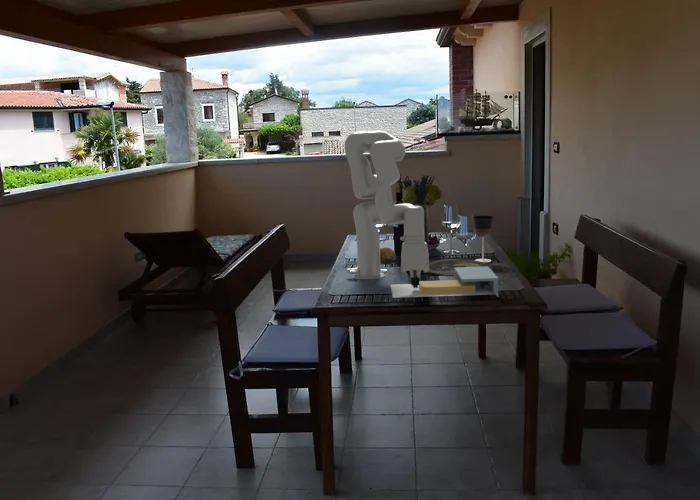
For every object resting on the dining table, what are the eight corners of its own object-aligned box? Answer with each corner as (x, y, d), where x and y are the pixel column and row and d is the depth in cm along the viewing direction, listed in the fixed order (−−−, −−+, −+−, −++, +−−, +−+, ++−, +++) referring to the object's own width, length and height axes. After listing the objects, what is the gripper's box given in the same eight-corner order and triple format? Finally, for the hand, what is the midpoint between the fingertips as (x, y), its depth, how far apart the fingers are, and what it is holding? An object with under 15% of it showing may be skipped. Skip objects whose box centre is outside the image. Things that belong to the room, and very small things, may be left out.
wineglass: (493, 262, 272) (493, 218, 268) (473, 262, 273) (473, 218, 269) (492, 258, 279) (492, 215, 275) (472, 258, 281) (473, 215, 277)
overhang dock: (393, 300, 220) (392, 281, 219) (390, 287, 238) (390, 269, 237) (498, 296, 220) (498, 278, 218) (487, 283, 237) (488, 266, 236)
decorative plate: (419, 274, 249) (425, 258, 278) (419, 279, 250) (425, 262, 278) (494, 276, 243) (492, 259, 272) (494, 280, 244) (492, 263, 272)
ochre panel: (420, 293, 224) (420, 287, 223) (418, 287, 232) (418, 281, 232) (475, 292, 223) (475, 285, 223) (471, 285, 232) (471, 279, 232)
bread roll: (397, 266, 287) (397, 250, 289) (393, 261, 277) (394, 244, 279) (376, 266, 289) (377, 249, 291) (372, 261, 280) (373, 244, 281)
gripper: (394, 242, 221) (395, 290, 225) (435, 240, 221) (436, 289, 225) (393, 238, 229) (394, 285, 232) (433, 236, 228) (434, 284, 232)
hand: (415, 287), depth 229 cm, fingers closed
